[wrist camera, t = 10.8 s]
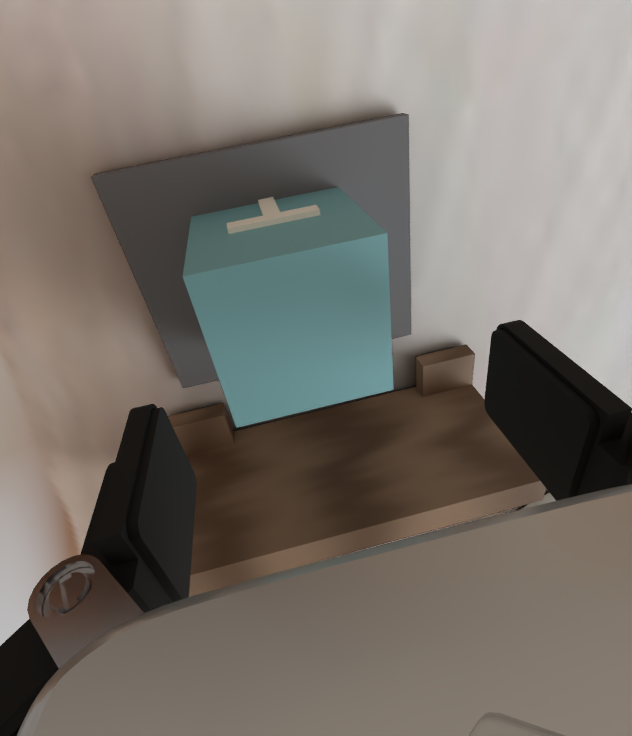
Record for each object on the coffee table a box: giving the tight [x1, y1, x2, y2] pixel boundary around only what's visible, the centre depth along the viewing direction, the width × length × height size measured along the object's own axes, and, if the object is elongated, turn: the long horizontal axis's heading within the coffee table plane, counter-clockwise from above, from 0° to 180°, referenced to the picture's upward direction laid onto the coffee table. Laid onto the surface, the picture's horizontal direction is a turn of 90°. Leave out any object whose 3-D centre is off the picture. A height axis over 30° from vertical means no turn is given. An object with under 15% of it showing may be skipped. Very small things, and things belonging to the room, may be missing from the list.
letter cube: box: [183, 187, 394, 428], centre depth 16 cm, size 6×6×6 cm
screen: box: [168, 345, 546, 597], centre depth 22 cm, size 17×6×8 cm, turn 98°
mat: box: [91, 113, 411, 388], centre depth 19 cm, size 12×10×1 cm
